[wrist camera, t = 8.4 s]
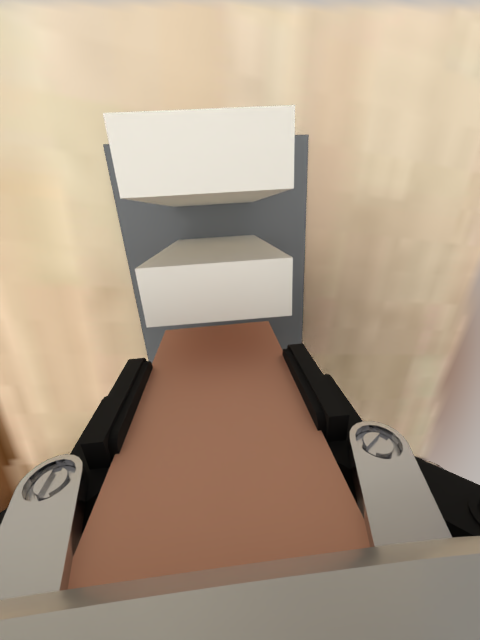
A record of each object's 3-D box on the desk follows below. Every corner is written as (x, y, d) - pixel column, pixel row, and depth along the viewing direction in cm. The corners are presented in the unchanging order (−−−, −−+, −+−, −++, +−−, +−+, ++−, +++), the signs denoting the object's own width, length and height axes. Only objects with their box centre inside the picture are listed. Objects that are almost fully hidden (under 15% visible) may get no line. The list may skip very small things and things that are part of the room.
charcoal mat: (306, 136, 16) (308, 134, 16) (298, 411, 24) (299, 414, 24) (105, 146, 16) (103, 144, 15) (164, 425, 24) (163, 428, 23)
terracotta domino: (165, 330, 13) (43, 629, 4) (268, 320, 13) (392, 577, 4) (172, 365, 14) (84, 686, 4) (269, 356, 14) (374, 639, 5)
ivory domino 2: (178, 239, 18) (134, 268, 8) (253, 234, 18) (292, 257, 9) (182, 270, 18) (146, 327, 9) (254, 264, 19) (291, 315, 9)
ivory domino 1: (168, 170, 16) (102, 112, 7) (251, 166, 16) (294, 104, 7) (173, 206, 17) (120, 198, 8) (252, 202, 17) (293, 188, 8)
